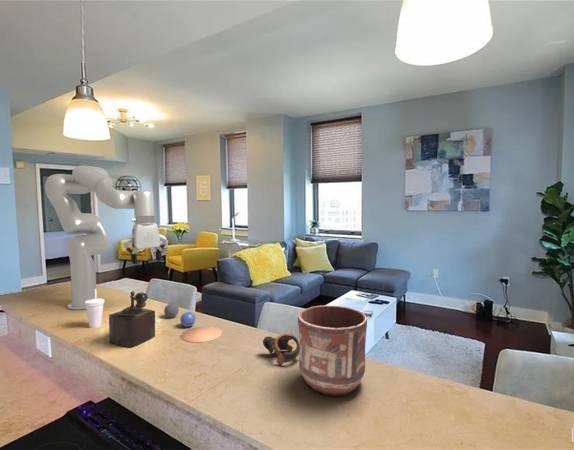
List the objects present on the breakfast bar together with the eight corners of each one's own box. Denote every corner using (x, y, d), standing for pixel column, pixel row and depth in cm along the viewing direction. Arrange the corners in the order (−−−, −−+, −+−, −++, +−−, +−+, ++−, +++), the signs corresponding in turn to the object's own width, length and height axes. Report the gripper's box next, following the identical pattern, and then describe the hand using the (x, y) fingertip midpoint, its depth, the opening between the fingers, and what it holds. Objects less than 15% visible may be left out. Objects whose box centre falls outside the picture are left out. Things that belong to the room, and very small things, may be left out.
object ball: (178, 326, 123) (178, 311, 123) (192, 322, 126) (192, 308, 126) (183, 330, 119) (183, 315, 118) (198, 327, 122) (197, 312, 122)
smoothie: (108, 323, 125) (108, 287, 124) (97, 329, 118) (96, 291, 118) (93, 322, 125) (92, 286, 125) (81, 329, 119) (80, 291, 118)
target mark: (175, 332, 117) (175, 332, 116) (211, 324, 125) (211, 323, 125) (190, 346, 106) (190, 345, 106) (228, 335, 114) (228, 335, 114)
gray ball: (162, 316, 133) (162, 303, 133) (175, 314, 136) (175, 301, 136) (166, 320, 129) (166, 306, 128) (180, 317, 132) (180, 304, 132)
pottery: (297, 365, 94) (298, 303, 93) (359, 367, 93) (361, 305, 92) (296, 402, 76) (296, 327, 75) (372, 406, 75) (374, 330, 74)
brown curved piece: (301, 352, 103) (305, 336, 98) (292, 379, 95) (297, 362, 91) (265, 340, 105) (268, 323, 101) (254, 364, 97) (257, 347, 93)
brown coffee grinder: (106, 343, 107) (105, 289, 106) (134, 331, 117) (133, 282, 116) (141, 352, 101) (140, 295, 100) (167, 339, 111) (166, 287, 110)
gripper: (125, 221, 125) (128, 265, 126) (169, 219, 137) (171, 260, 138) (119, 221, 131) (121, 264, 131) (161, 219, 143) (163, 258, 143)
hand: (146, 261), depth 135 cm, fingers open, 9 cm apart
